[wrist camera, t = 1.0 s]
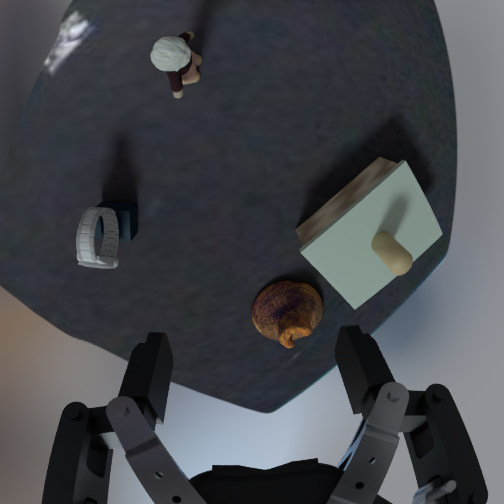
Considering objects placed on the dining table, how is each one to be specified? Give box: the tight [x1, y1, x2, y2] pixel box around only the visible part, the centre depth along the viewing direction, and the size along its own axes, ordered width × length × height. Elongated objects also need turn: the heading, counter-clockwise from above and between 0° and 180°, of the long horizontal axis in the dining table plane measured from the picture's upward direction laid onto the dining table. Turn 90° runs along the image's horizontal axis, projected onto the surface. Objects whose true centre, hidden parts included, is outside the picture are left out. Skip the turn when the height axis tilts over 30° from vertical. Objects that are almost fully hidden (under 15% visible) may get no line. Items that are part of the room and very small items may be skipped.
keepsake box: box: [296, 157, 397, 246], centre depth 36 cm, size 16×12×6 cm
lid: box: [299, 160, 442, 309], centre depth 30 cm, size 17×13×6 cm
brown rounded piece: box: [251, 280, 323, 348], centre depth 42 cm, size 12×12×7 cm
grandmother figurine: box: [151, 32, 202, 98], centre depth 22 cm, size 8×4×13 cm, turn 3°
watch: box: [76, 202, 138, 268], centre depth 31 cm, size 6×8×11 cm
